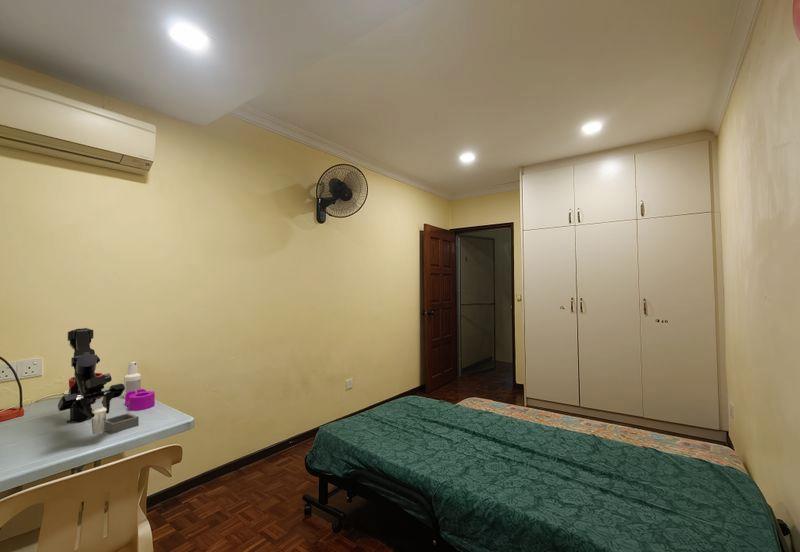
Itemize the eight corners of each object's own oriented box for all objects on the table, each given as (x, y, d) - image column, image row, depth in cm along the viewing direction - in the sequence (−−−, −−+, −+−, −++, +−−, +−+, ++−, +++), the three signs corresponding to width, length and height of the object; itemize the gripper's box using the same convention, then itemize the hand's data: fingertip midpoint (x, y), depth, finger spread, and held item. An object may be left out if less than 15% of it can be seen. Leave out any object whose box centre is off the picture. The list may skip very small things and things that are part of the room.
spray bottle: (131, 399, 177) (131, 363, 177) (120, 398, 178) (120, 363, 178) (143, 395, 183) (144, 361, 184) (133, 394, 185) (133, 360, 185)
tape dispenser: (157, 407, 166) (157, 393, 166) (132, 413, 159) (132, 399, 159) (147, 400, 177) (147, 387, 177) (123, 405, 169) (123, 392, 169)
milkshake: (94, 430, 132) (95, 403, 132) (109, 429, 132) (110, 403, 132) (84, 435, 127) (85, 408, 127) (100, 435, 128) (100, 407, 128)
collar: (101, 429, 141) (101, 420, 141) (127, 421, 149) (127, 412, 149) (112, 433, 136) (112, 424, 136) (138, 425, 144) (138, 416, 144)
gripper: (61, 373, 124) (74, 410, 118) (123, 363, 140) (136, 395, 135) (52, 392, 128) (64, 429, 122) (113, 379, 144) (126, 411, 138)
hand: (100, 415), depth 129 cm, fingers closed on milkshake, 4 cm apart
